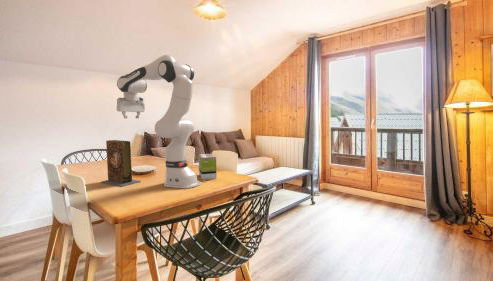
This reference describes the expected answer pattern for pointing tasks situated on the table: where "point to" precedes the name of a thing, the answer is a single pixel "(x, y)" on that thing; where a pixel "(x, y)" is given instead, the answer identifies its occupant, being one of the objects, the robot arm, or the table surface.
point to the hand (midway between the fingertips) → (131, 118)
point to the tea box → (207, 166)
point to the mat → (120, 183)
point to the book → (119, 161)
